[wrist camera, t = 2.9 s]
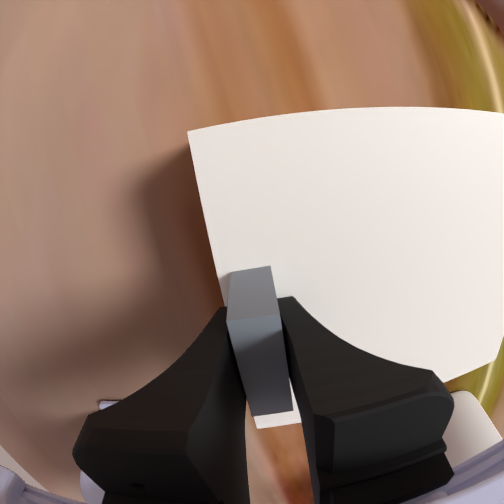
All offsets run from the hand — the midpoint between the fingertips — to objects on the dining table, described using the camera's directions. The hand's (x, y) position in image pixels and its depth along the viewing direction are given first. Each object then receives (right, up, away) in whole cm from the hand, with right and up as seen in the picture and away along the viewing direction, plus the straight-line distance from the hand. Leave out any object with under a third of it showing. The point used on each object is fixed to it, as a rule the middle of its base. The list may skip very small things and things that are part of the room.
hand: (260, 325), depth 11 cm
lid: (+6, +1, +1) cm, 6 cm away
